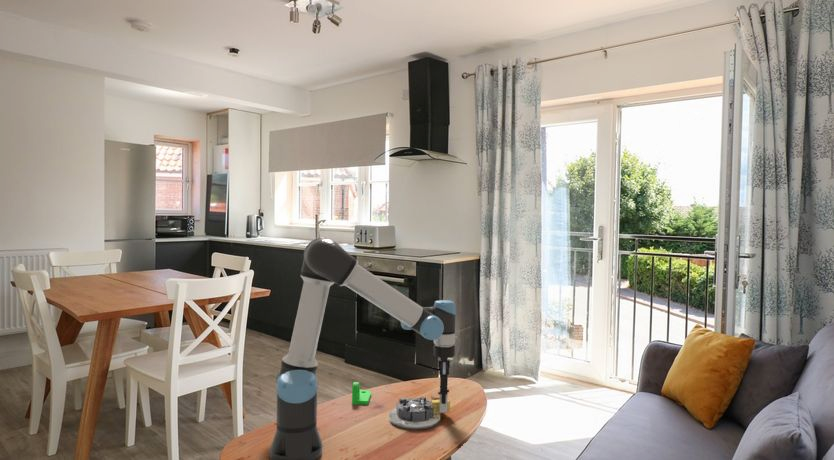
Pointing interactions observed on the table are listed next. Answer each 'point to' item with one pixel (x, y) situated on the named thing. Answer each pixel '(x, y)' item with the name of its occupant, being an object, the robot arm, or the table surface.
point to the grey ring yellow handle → (419, 414)
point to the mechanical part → (360, 395)
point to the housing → (415, 424)
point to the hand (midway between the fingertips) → (443, 411)
